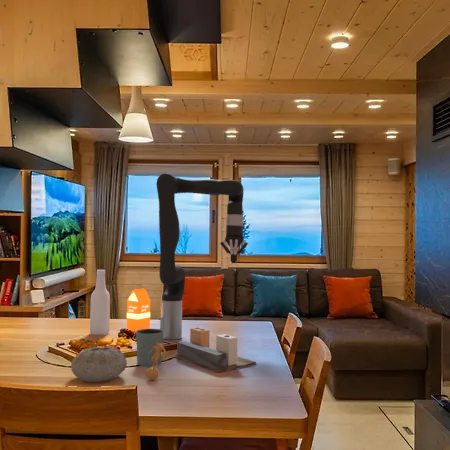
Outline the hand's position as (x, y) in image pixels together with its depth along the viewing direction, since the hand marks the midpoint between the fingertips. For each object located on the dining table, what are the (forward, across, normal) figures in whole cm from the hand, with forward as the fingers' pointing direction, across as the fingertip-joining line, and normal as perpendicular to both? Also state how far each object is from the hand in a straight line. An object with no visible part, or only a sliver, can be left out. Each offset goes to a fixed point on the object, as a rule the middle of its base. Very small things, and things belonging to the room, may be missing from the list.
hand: (233, 262), depth 221 cm
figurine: (+35, -16, -64) cm, 75 cm away
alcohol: (+35, -63, -2) cm, 72 cm away
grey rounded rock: (+35, -34, -67) cm, 83 cm away
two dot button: (+34, -8, -33) cm, 48 cm away
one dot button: (+34, +4, -43) cm, 55 cm away
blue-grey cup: (+35, -24, -46) cm, 63 cm away
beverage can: (+35, -38, +28) cm, 59 cm away
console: (+35, -1, -37) cm, 51 cm away
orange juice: (+35, -49, +12) cm, 62 cm away
